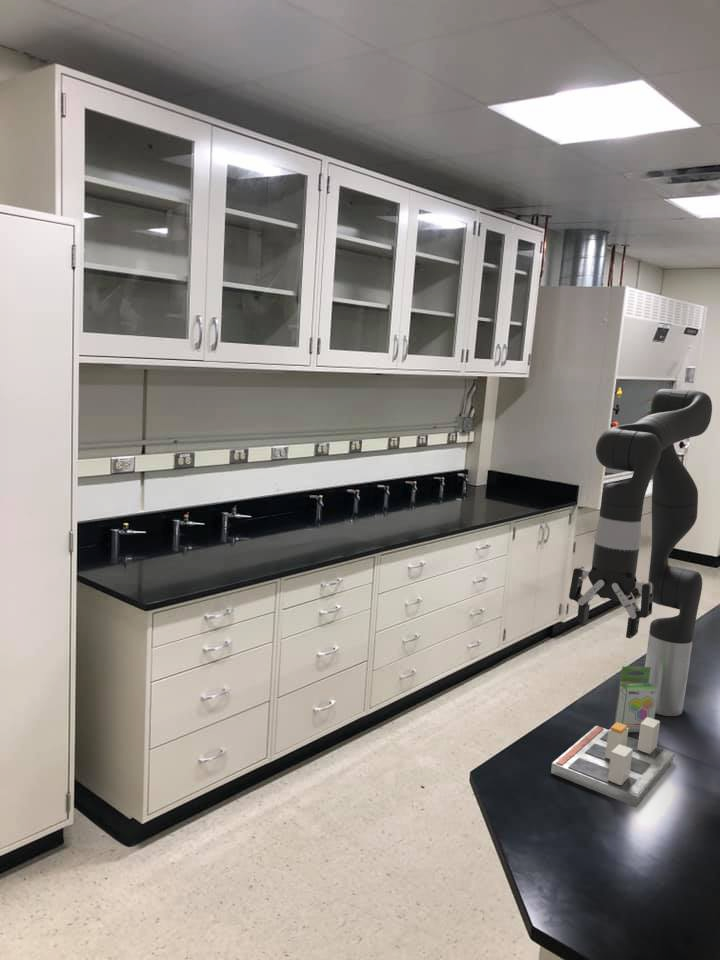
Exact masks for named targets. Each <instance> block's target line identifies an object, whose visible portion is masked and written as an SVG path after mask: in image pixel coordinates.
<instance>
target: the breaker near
mask: <svg viewBox="0 0 720 960" xmlns="http://www.w3.org/2000/svg"><path fill="white" fill-rule="evenodd" d="M632 751H633V749H631V748H629V747H626V746H623V745H620V744H619V745H618V746H617V747H616V748H615V749H614V750H613V751H611V758H610V766H609V774H608V780H609V781H611V782H614V783H616V784H619V785H622V784H623V783H624V782H625V781H626V780H627V779H628V778H629V774H630V766H631V759H632Z"/></svg>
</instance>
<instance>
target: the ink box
mask: <svg viewBox="0 0 720 960" xmlns="http://www.w3.org/2000/svg"><path fill="white" fill-rule="evenodd" d="M650 670H651V667H645V666H625V665H624V666H622V667H621V674H620V681H619V689H618V693H617V695H618V696H617V704H616V711H615V718H614V724H615V723H616V722H618V723H621V724H624V725H627V728H629V730H628V733H640V725H641V723H642V722H643V721H644V720H645V719H646V718H647V717H649V718H652V719H655V717H656V713H655V709H656V700H657V693H658V690H657V689H656V688H655V687H654V686H653V685H652V684H650V683H649V676H650ZM636 671H637V672H641V673H642V675H639V674H638V675H637V674H635V675H634V674H633V675H632V674H630V675H629V673H631V672H636Z"/></svg>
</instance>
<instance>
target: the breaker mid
mask: <svg viewBox="0 0 720 960" xmlns="http://www.w3.org/2000/svg"><path fill="white" fill-rule="evenodd" d="M607 730H608V738H607V746H606V753H605V758H608V759H610V758H611V751H613V750H614V749H615V748H616V747H617V746H618V745H619V744H620V745H623V746H626V745H627V737H629V736H628V735H629V732H628V730H629V728H627V725H624V724H621V723H618V722H616V723H615V722H614V724H612V726H611V727H610V729H607Z"/></svg>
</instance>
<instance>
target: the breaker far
mask: <svg viewBox="0 0 720 960" xmlns="http://www.w3.org/2000/svg"><path fill="white" fill-rule="evenodd" d="M660 724H661V721H660V720H658V719H655V718H654V719H652V718H649V717H647V718H646V719H645V720H644V721H643V722H642V723H641V725H640V732H638V734H639V735H638V739H637V740H638V748H637V750H640V751H642V752H645V753H648V754H651V753H652V752H653V751H654V749H655V748H656V747H658V740H659V732H660Z"/></svg>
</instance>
